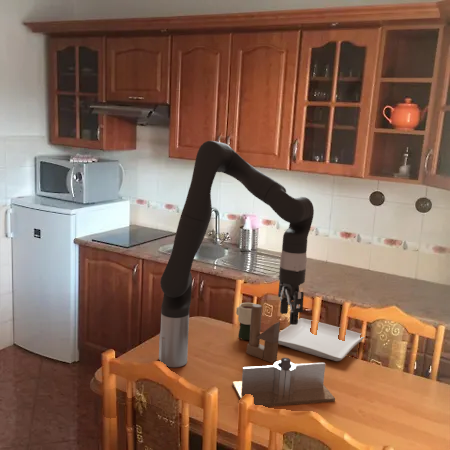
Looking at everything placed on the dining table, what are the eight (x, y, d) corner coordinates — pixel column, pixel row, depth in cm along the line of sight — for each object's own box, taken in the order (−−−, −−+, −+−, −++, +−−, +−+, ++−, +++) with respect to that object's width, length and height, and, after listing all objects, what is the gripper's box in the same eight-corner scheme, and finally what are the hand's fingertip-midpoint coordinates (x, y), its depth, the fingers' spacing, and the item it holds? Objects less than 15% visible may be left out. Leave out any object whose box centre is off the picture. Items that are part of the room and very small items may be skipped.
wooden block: (271, 363, 181) (275, 313, 178) (245, 353, 188) (249, 305, 184) (277, 359, 184) (281, 310, 181) (251, 350, 191) (255, 302, 187)
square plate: (341, 368, 181) (342, 357, 180) (269, 347, 195) (270, 337, 194) (365, 342, 204) (366, 333, 203) (300, 325, 218) (300, 316, 217)
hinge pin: (280, 392, 160) (283, 362, 158) (277, 388, 162) (279, 357, 160) (289, 392, 160) (291, 361, 158) (286, 387, 163) (288, 357, 161)
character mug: (263, 340, 200) (266, 307, 198) (252, 345, 195) (254, 311, 192) (241, 331, 207) (242, 299, 204) (229, 336, 202) (231, 304, 199)
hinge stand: (244, 408, 152) (246, 379, 150) (232, 384, 165) (234, 357, 163) (334, 401, 159) (337, 373, 157) (316, 378, 172) (318, 353, 170)
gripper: (272, 259, 160) (269, 310, 163) (289, 273, 146) (284, 328, 149) (296, 259, 162) (292, 309, 165) (314, 272, 148) (309, 327, 151)
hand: (288, 318), depth 157 cm, fingers open, 8 cm apart
